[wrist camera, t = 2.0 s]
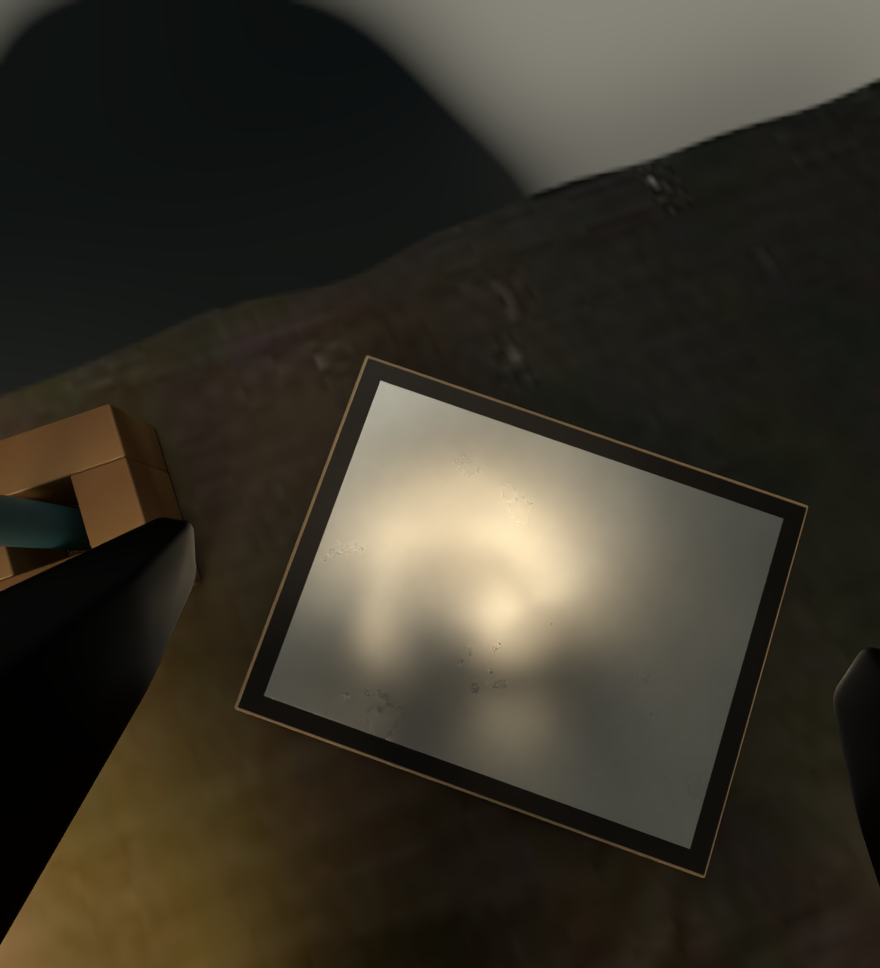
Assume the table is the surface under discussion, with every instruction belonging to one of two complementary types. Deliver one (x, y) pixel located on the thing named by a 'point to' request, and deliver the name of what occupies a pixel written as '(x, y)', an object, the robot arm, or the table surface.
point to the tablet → (528, 614)
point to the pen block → (86, 481)
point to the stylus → (41, 525)
